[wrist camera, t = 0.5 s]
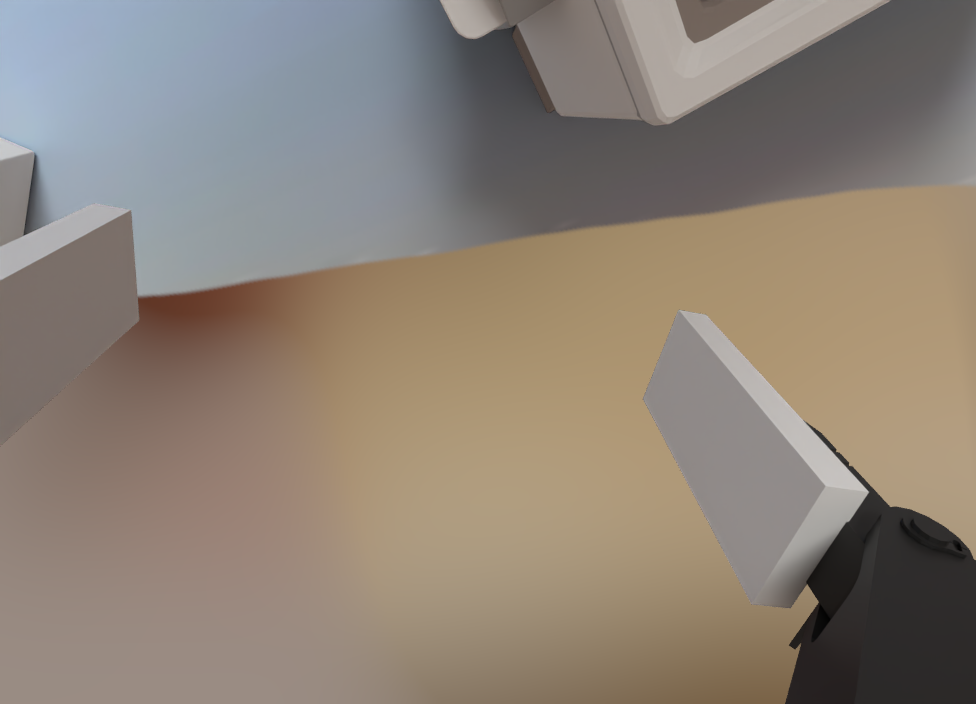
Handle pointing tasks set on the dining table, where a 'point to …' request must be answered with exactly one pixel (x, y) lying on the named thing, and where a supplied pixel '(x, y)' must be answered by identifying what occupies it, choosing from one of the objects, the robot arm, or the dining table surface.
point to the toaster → (650, 47)
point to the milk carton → (14, 189)
